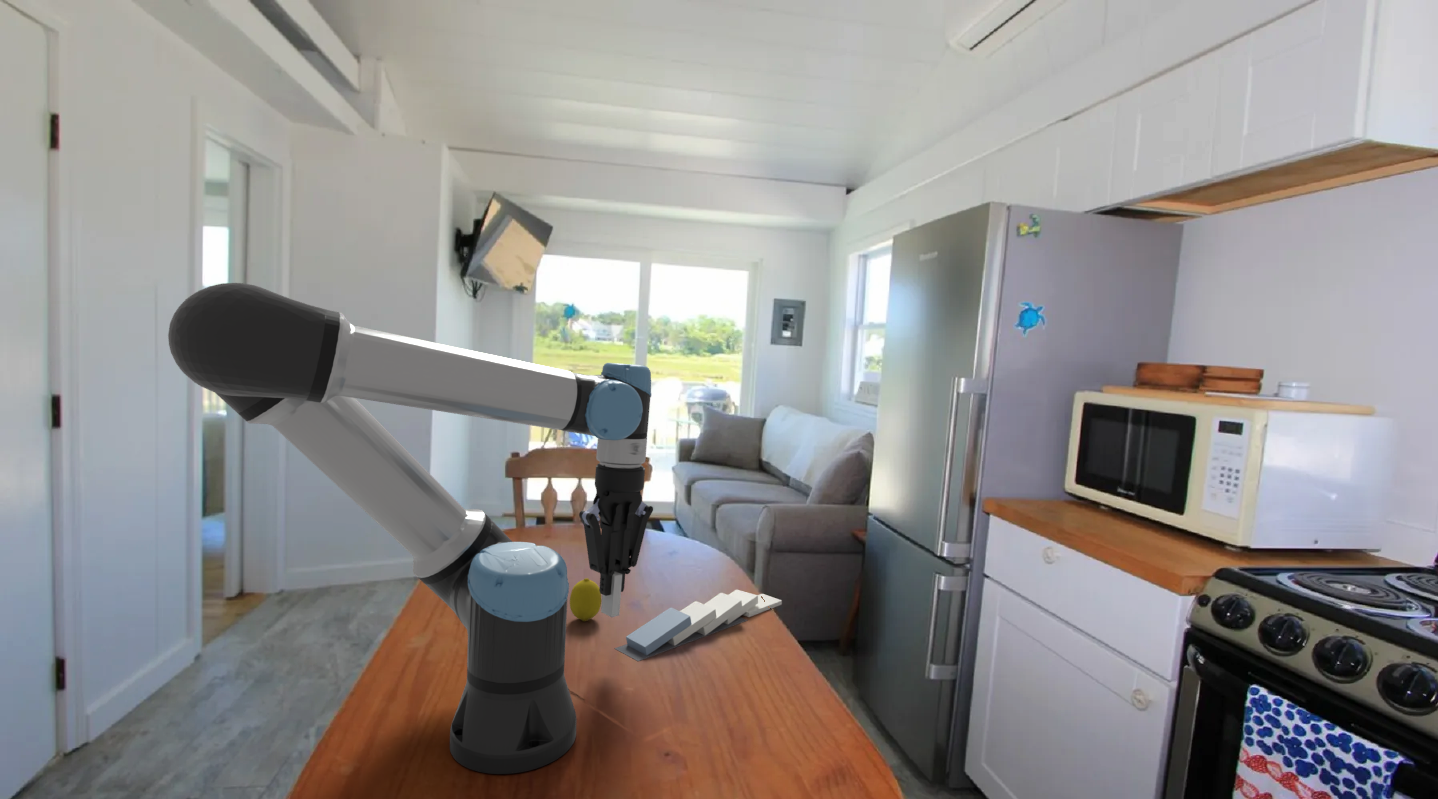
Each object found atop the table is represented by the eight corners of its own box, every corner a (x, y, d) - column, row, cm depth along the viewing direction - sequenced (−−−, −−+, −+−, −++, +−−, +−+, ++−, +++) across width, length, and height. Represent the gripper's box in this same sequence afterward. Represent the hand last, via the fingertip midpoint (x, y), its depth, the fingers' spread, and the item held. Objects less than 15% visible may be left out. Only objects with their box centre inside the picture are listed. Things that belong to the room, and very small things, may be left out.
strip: (637, 663, 109) (638, 661, 109) (614, 650, 113) (614, 648, 113) (747, 622, 128) (747, 620, 128) (724, 612, 132) (724, 610, 132)
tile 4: (727, 616, 125) (758, 595, 133) (705, 609, 128) (736, 589, 136) (728, 624, 125) (758, 603, 133) (705, 617, 128) (736, 597, 136)
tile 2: (673, 637, 115) (715, 609, 121) (653, 627, 118) (695, 600, 125) (674, 645, 115) (716, 617, 122) (655, 636, 119) (697, 608, 125)
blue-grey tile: (645, 647, 110) (690, 616, 117) (625, 636, 114) (670, 607, 121) (646, 655, 111) (691, 624, 118) (627, 645, 114) (672, 615, 121)
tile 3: (704, 627, 119) (741, 600, 126) (683, 618, 123) (721, 592, 130) (705, 635, 120) (742, 607, 127) (684, 626, 123) (722, 599, 130)
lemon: (606, 622, 124) (608, 579, 124) (581, 630, 120) (582, 585, 120) (588, 613, 128) (589, 571, 127) (562, 621, 124) (564, 577, 123)
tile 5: (749, 612, 129) (781, 600, 136) (729, 605, 133) (762, 593, 140) (748, 621, 129) (781, 608, 137) (728, 613, 133) (761, 601, 140)
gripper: (601, 470, 100) (590, 631, 101) (668, 465, 109) (657, 612, 110) (571, 462, 105) (560, 615, 106) (637, 458, 114) (627, 598, 115)
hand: (610, 613), depth 108 cm, fingers closed
